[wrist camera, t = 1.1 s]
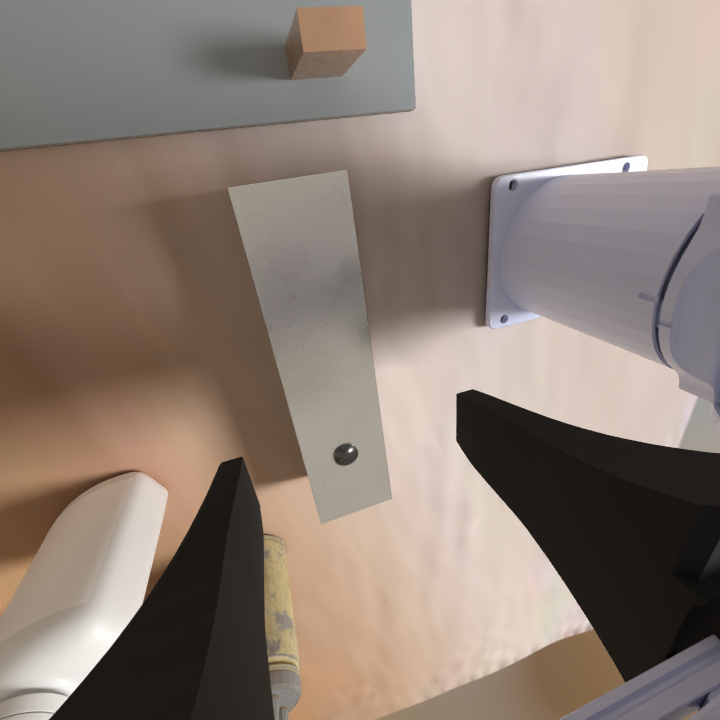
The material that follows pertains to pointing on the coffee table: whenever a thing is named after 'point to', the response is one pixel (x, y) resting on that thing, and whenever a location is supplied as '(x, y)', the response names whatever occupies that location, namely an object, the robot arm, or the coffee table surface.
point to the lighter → (280, 630)
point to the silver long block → (318, 331)
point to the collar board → (196, 66)
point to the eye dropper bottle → (78, 593)
